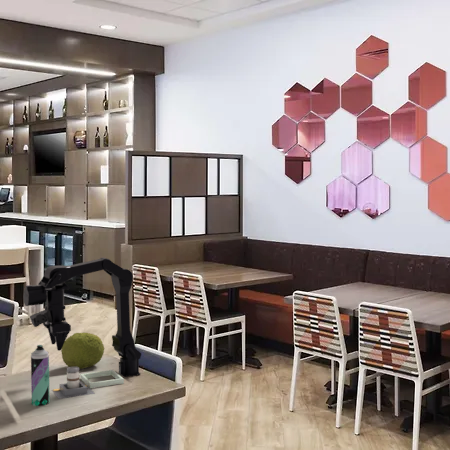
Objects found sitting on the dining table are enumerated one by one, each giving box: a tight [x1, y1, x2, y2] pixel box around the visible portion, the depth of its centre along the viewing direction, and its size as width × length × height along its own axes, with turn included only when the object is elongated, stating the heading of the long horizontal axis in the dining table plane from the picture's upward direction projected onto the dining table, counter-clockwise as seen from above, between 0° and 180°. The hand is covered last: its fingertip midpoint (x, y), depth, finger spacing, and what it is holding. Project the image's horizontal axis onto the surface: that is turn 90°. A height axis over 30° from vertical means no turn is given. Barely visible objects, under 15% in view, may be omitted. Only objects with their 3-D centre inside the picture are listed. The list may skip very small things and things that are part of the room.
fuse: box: [66, 366, 80, 389], centre depth 218 cm, size 4×4×8 cm
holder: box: [51, 380, 96, 400], centre depth 218 cm, size 12×10×4 cm
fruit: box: [60, 332, 105, 370], centre depth 251 cm, size 16×14×15 cm
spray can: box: [30, 344, 51, 407], centre depth 207 cm, size 6×6×20 cm
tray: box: [79, 369, 125, 389], centre depth 230 cm, size 12×12×3 cm
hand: (56, 347), depth 227 cm, fingers open, 9 cm apart
